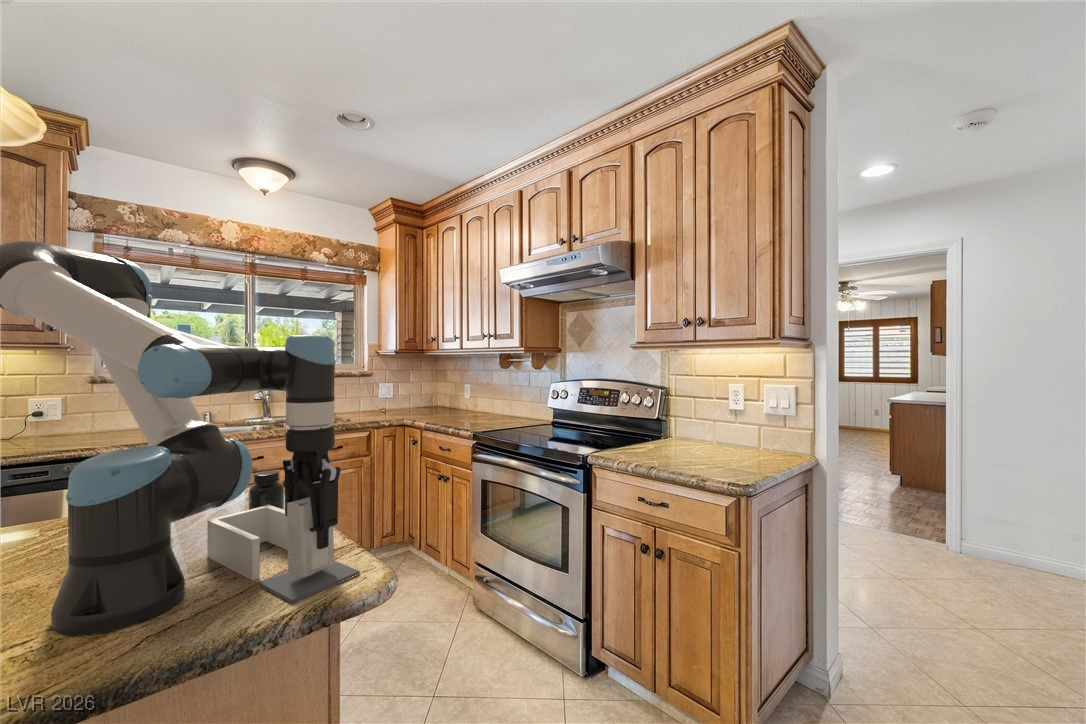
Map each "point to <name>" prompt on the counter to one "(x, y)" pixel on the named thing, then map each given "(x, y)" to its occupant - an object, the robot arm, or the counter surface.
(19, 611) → the counter surface
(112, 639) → the counter surface
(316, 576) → the mat
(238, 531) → the white u-shaped frame
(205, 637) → the counter surface
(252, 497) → the supplement bottle
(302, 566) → the skincare box
